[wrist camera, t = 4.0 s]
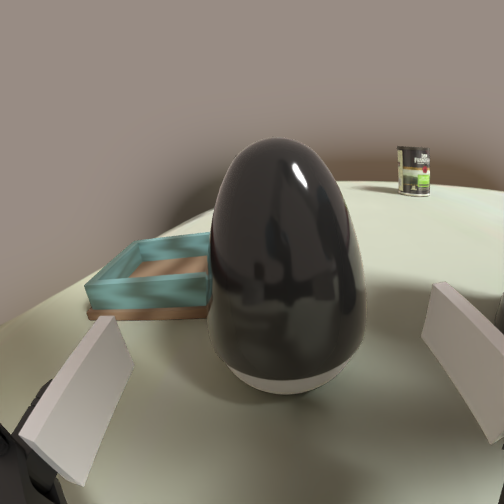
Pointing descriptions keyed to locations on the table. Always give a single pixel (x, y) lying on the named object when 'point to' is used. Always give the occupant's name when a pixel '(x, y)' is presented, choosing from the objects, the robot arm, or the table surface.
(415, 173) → the coffee can
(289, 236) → the dark grey glossy oval
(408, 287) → the table surface
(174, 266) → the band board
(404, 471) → the table surface
